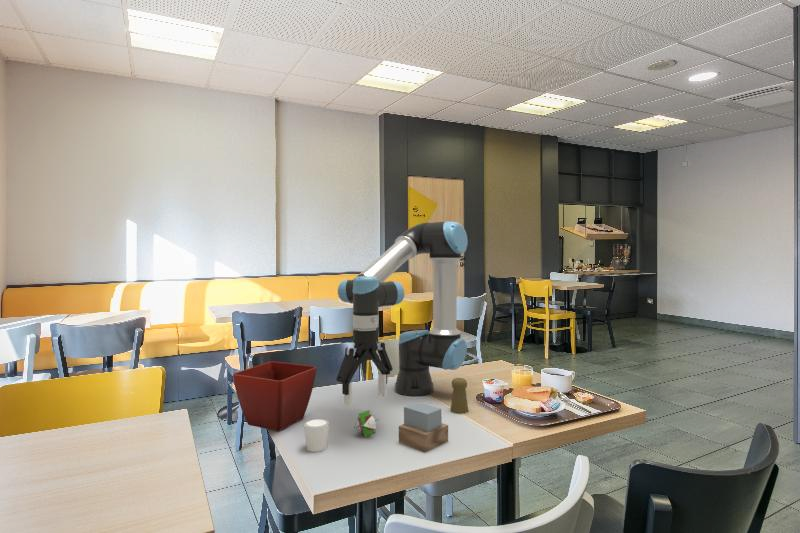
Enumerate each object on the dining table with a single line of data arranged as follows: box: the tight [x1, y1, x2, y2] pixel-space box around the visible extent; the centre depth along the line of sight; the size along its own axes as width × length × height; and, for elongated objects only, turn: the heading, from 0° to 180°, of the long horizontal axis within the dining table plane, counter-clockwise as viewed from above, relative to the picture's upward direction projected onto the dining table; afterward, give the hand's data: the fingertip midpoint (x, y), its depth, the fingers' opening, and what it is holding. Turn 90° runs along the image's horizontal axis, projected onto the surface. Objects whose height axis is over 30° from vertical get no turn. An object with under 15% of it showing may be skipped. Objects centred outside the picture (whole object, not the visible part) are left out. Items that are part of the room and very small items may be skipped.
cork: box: [450, 377, 469, 415], centre depth 163 cm, size 6×6×11 cm
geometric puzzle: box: [353, 410, 380, 438], centre depth 143 cm, size 7×7×8 cm
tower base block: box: [398, 422, 449, 453], centre depth 137 cm, size 10×10×5 cm
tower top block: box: [403, 401, 443, 432], centre depth 137 cm, size 6×9×5 cm, turn 46°
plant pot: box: [232, 361, 317, 432], centre depth 153 cm, size 19×19×17 cm
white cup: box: [303, 418, 330, 453], centre depth 134 cm, size 7×7×7 cm
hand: (365, 400), depth 142 cm, fingers open, 13 cm apart
